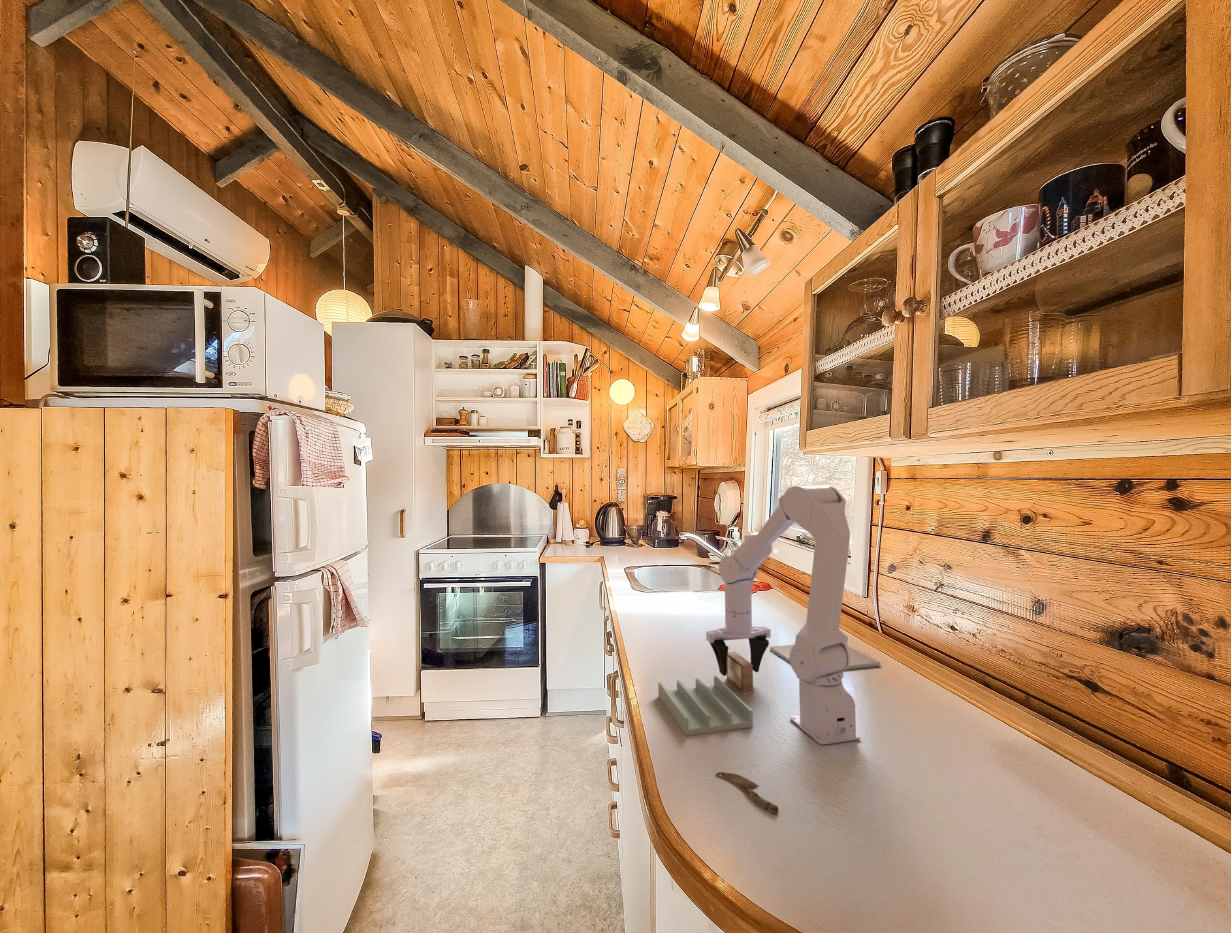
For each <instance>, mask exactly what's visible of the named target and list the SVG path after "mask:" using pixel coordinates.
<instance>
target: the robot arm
mask: <svg viewBox="0 0 1231 933" xmlns="http://www.w3.org/2000/svg"><path fill="white" fill-rule="evenodd" d="M846 502H847V500H846V498H845V497H844V496H843V495H842V494H841V493H840V491H838V489H837V488H835V487H834V486H832V485H827V484H824V485H823V484H822V485H811V486H807V485H806V486H805V485H804V486H802V485H791V486H790V487H789V488H786V490H785V491H784V493H783V494H782V495H781V496H780V497H779V498H778V500H777V503H778V504H777V507H776V508H775V509H774V511H773V512H772V513H771V515H770V516H769V518H768V519H767V520H766V522H765V523H764V525H763V526H762V527H761V529H760V530H759V531H758V532H751V533H748V534H746V535H745V536H744V538H743V541H742V543H740V545H739V546H738V547H737V548H735V549H734V550H733V553H732V554H730V555H725V556H722V558H721V560H720V561H719V565H718V571H719V575H720V577H721V580H723V581H724V622H725V624H724V626H725V627H721V628H718V629H713V630H707V631H705V632H706V633H705V634H706V638H705V640H706V641H707V642H708V643H709V644H710V646H711V648H712V650H713V652H714V655H715V657H716V658H715V659H716V661H717V662H716V663H717V665H718V670H719V673H720V674H721V675H722V676H724V677H725V676H727V654H728V652H729V646H728V645H727V644H726V642H725V641H735V640H745V639H748V643H749V650H750V652H749V653H750V663H751V664H752V665H753V672H755V673H759V672H760V666H761V662H762V660H763V658H764V657H763V656H764V654H765V652H766V651H767V649H768V647H770V646H769V645H770V640H768V639H769V638H771V628H769V627H768V626H753V615H752V614H753V613H752V612H753V610H752V608H753V607H752V606H753V605H752V590H753V587H754V581H755V579H756V577H757V574H758V568H759V567H760V566H761V565H762V564H763V563H764V561H765V560H766V559H767V558H768V557H769V556H770V555H771V554H772V552H773V543H774V542H776V540H777V539H779V538H780V537H781V536H782V535H783V534H785V532H786V531H787V530H788V529H789V528H791V527H792V525H793V524H797V525H798V526H800V527H801V528H803V529H804V530H805V531H806V532H807V533H809V534H810V535H811V537H812V538H813V540H814V550H813V552H814V553H813V562H812V569H811V578H810V587H809V596H808V604H807V613H806V622H805V624H804V625H803V626H802V628H800V630H799V631H798V632H797V634H796V635H795V641H794V644H793V645H794V646H793V647H792V649H791V651H790V655H789V659H790V663H789V664H790V666H791V669H792V671H793V672H794V673H795V675H796V678H797V679H798V680H799V681H798V687H799V688H798V689H799V692H798V693H799V694H798V695H799V714H795V715H791V716H789V719H790V721H792V722H794V724H796V726H798V727H799V728H800V729H802V731H804V732H805V733H807V735H808V736H810V737H811V738H812V739H813V740H814V741H815V742H816V743H818V744H819V745H824V746H825V745H829V744H836V743H837V744H838V743H842V742H851V741H858V740H861V736H860V735H859V734H858V733H857V728H856V726H857V725H856V723H857V722H856V703H855V700H854V698H853V697H852V695H851V694H850V693H849V692H848V691H847V690H846V688H845V687H844V685H843V678H844V671H847V670H846V669H847V668H848V666H849V664H850V654H849V651H848V647H849V646H848V641H849V639H848V636H847V635H846V634H845V633H844V632H843V631H842V630H841V629H840V624H841V617H842V616H841V615H842V614H841V613H842V608H843V607H842V606H843V597H844V590H845V584H846V583H845V581H846V573H847V566H848V565H847V564H848V558H849V550H850V549H849V548H850V540H851V531H850V527H849V525H848V524H849V523H848V521H847V516H846V513H845V511H846V504H847V503H846ZM847 646H848V647H847Z"/></svg>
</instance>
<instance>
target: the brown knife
mask: <svg viewBox="0 0 1231 933" xmlns="http://www.w3.org/2000/svg"><path fill="white" fill-rule="evenodd" d="M714 777H716V778H718V779H721V780H723V781H725V782H727V783H729V784H731V785H733V786H735V787H736V788H737V789H739V790H740V791H741V792H742V793H744V794H745V796H747V797H748V799H750V800H751V802H753V803H754V804H755V805H757V806H758V808H761V809H762V810H764V811H765V812H767V811H768V812H767V813H769V812H770V813H769V814H771V813H772V815H775V814H776V815H778V814H779V807H778V806H777V805H776V804H774V803H771V802H769V801H768V800H766V799H764V798H763V797H762V796H760V795H759V794H758V793H757V792H755V791H754V789H756V788H759V784H757V783H756V782H754V781H752V780H750V779H748V778H747V777H744V776H743V775H740V774H737V773H732V772H724V771H718V772H717V773H715V774H714ZM777 813H778V814H777Z"/></svg>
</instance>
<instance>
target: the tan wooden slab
mask: <svg viewBox="0 0 1231 933" xmlns="http://www.w3.org/2000/svg"><path fill="white" fill-rule="evenodd" d="M753 672H754V671H753V665H752V664H751V661H748V660H747V659H746V658H744V657H743V656H742V655H741V654H740V653H738V652H737V651H731V652H729V651H728V654H727V675H726V679H727V680H728V681H729V680H730V681H729V682H730V683H731V682H732V683H733V684H734V685H735V686H736V687H737V688H736V687H735V686H734V685H733V684H732V683H731V684H732V685H733V686H734V687H735V688H736V689H738V690H739V689H740V690H741V691H742V692H743V693H748V694H751V693H750V692H753V693H754V674H753ZM740 690H739V691H740ZM741 691H740V692H741ZM742 692H741V693H742ZM743 693H742V694H743Z"/></svg>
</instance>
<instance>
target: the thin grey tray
mask: <svg viewBox="0 0 1231 933" xmlns="http://www.w3.org/2000/svg"><path fill="white" fill-rule="evenodd" d="M793 646H794V644H786V645H776V646H775V645H774V646H769V651H770V650H771V651H770V652H772V653H773V652H774V653H773V654H775V655H776V654H777V655H776V656H778V657H779V656H780V657H779V658H781V657H782V658H783V659H782V658H781V659H782V660H784V659H785V660H786V662H787V661H788V662H789V663H788V662H787V663H788V664H790V659H789V655H790V651H791V649H792V647H793ZM847 647H848V651H849V654H850V664H849V666H848V668H847V669H846V670H845V671H851V670H861V669H870V668H879V667H882V666H881V661H878V660H876V659H874V658H872V657H870V656H868V655H866V654H865V653H862V652H860V651H858V650H856V649H854V648H852V647H850V646H848V645H847ZM785 660H784V661H785Z"/></svg>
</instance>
